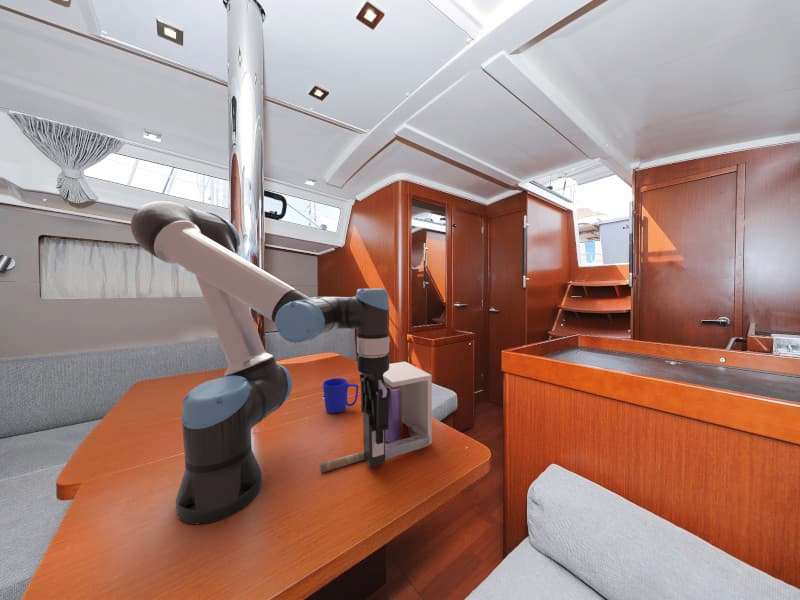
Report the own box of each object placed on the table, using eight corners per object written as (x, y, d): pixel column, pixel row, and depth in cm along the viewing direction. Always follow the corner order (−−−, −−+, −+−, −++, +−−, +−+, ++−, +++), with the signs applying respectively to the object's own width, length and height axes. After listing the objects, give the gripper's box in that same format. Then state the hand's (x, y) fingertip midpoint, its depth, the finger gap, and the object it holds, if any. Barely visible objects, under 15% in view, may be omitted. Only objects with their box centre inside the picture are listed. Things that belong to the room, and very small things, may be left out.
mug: (356, 415, 94) (356, 386, 94) (320, 415, 95) (319, 386, 94) (360, 405, 103) (360, 378, 102) (327, 405, 103) (326, 378, 102)
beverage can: (393, 446, 77) (393, 391, 76) (377, 438, 80) (376, 386, 79) (406, 436, 82) (406, 385, 81) (390, 430, 85) (389, 381, 84)
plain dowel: (321, 474, 67) (322, 471, 65) (319, 465, 68) (320, 462, 67) (369, 459, 72) (370, 456, 71) (366, 451, 73) (368, 448, 72)
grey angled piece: (369, 467, 66) (368, 416, 65) (357, 448, 73) (357, 402, 73) (431, 447, 73) (431, 402, 73) (414, 432, 81) (414, 391, 80)
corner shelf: (393, 456, 72) (392, 382, 71) (371, 429, 86) (370, 366, 84) (431, 443, 78) (431, 375, 76) (405, 420, 91) (405, 361, 90)
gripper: (404, 360, 61) (404, 465, 62) (374, 345, 76) (375, 429, 78) (371, 365, 58) (372, 475, 59) (347, 348, 73) (348, 436, 74)
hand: (374, 449), depth 68 cm, fingers closed on grey angled piece, 4 cm apart
